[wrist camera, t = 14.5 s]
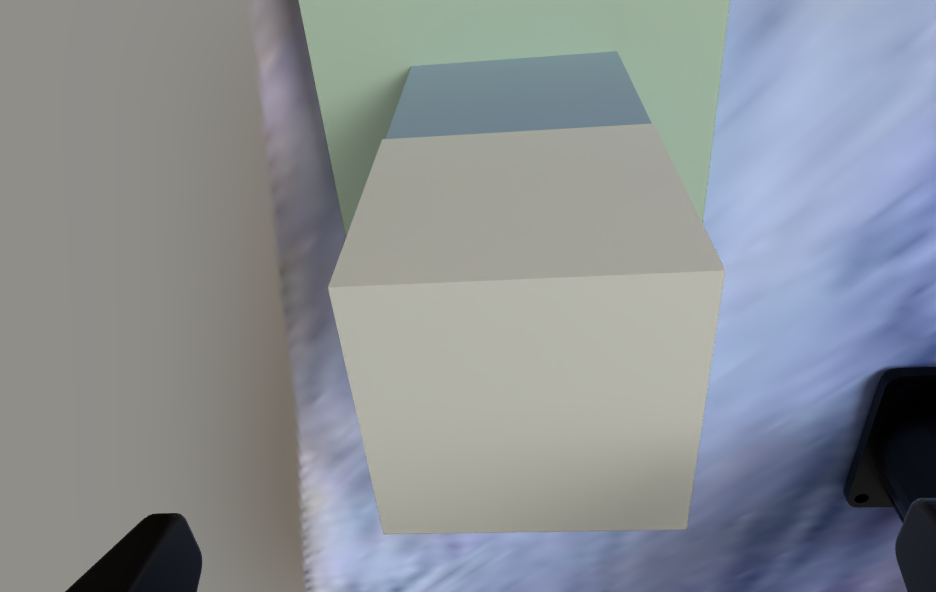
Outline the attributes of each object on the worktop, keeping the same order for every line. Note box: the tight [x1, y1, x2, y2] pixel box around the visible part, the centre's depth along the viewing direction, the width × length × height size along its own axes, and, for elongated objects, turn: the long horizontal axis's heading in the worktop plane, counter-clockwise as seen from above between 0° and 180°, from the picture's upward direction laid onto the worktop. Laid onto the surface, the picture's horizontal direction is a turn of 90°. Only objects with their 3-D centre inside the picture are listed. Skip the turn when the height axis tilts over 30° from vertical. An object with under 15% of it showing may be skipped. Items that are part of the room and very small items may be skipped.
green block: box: [299, 0, 730, 237], centre depth 19 cm, size 10×10×1 cm
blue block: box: [386, 51, 652, 139], centre depth 17 cm, size 5×5×5 cm
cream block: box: [328, 123, 725, 534], centre depth 12 cm, size 5×5×5 cm
